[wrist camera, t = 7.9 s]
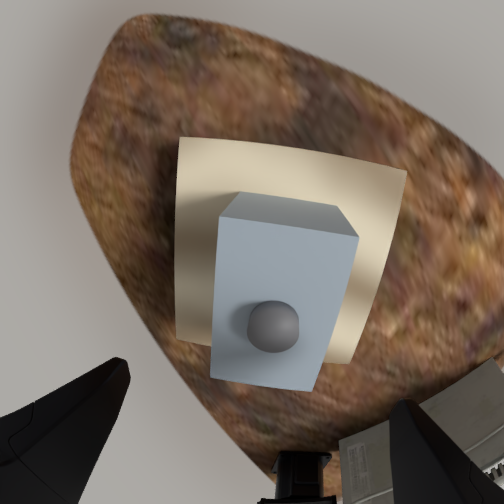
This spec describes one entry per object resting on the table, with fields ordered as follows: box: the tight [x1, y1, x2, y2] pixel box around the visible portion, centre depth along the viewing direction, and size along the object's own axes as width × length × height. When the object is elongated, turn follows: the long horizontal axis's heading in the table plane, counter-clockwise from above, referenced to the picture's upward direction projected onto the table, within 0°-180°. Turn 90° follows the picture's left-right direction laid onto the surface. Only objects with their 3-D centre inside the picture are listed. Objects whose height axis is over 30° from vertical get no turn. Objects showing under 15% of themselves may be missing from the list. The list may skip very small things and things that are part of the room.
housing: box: [210, 191, 360, 392], centre depth 13 cm, size 8×5×6 cm, turn 173°
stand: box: [174, 137, 407, 364], centre depth 17 cm, size 13×12×3 cm
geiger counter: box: [339, 357, 504, 504], centre depth 17 cm, size 14×6×25 cm
